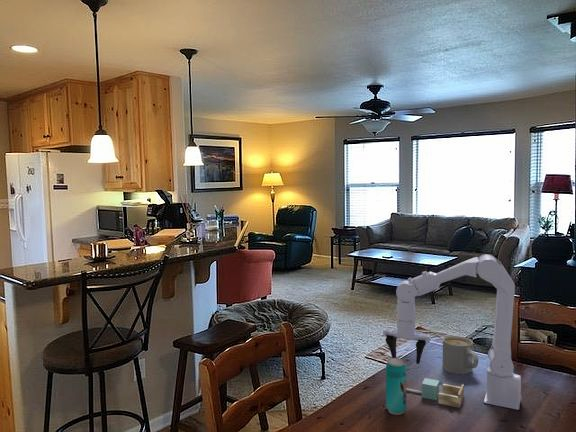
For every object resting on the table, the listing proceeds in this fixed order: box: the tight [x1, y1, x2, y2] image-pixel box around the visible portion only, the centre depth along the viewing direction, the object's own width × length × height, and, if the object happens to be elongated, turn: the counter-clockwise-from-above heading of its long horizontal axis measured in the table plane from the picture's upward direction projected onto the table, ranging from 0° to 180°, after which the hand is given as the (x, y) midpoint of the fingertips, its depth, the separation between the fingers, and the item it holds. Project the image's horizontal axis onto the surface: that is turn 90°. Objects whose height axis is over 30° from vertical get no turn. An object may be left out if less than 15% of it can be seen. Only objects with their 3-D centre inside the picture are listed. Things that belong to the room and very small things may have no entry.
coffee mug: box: [441, 335, 479, 375], centre depth 165 cm, size 13×10×10 cm
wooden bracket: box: [437, 383, 465, 408], centre depth 144 cm, size 6×8×4 cm
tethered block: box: [406, 377, 440, 401], centre depth 149 cm, size 12×4×6 cm, turn 62°
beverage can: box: [385, 357, 407, 416], centre depth 137 cm, size 6×6×15 cm
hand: (406, 360), depth 151 cm, fingers open, 7 cm apart
